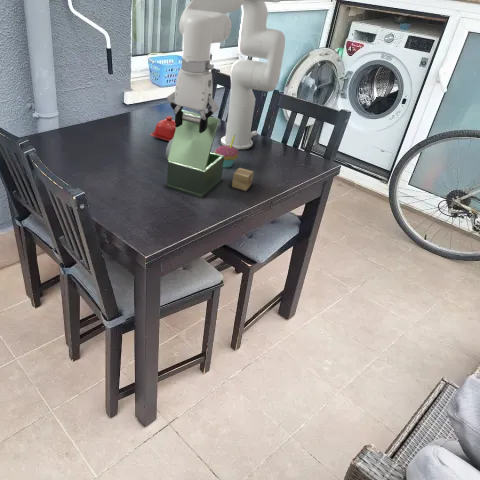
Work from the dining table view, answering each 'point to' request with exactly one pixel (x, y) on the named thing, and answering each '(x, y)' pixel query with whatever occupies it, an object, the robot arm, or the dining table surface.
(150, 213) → the dining table surface
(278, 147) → the dining table surface
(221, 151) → the cupcake
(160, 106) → the dining table surface
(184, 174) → the box
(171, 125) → the butter dish
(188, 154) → the lid
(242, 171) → the block
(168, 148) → the ceramic mug
